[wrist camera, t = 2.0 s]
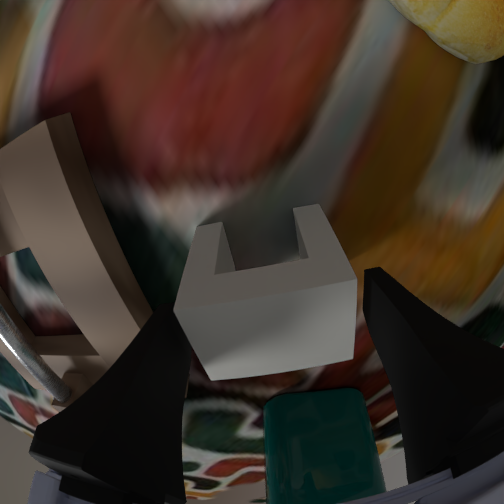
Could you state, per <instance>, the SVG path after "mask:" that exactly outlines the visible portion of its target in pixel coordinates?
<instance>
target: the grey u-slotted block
mask: <svg viewBox="0 0 504 504" xmlns="http://www.w3.org/2000/svg"><path fill="white" fill-rule="evenodd" d="M293 214H294V221H295V227H296V234H297V241H298V248H299V255H300V260H296V261H290V262H285V263H279V264H273V265H268V266H262V267H257V268H251V269H245V270H240V271H236V268H235V265H234V261H233V258H232V254H231V251H230V247H229V244H228V240H227V237H226V233H225V230H224V226H223V223H222V222H217V223H212V224H207V225H202V226H197V228H196V231H195V234H194V238H193V241H192V244H191V248H190V251H189V255H188V258H187V262H186V265H185V269H184V272H183V276H182V279H181V283H180V287H179V290H178V294H177V298H176V302H175V305H174V309H173V311H174V313H175V315H176V317H177V319H178V321H179V323H180V325H181V326H182V328H183V330H184V332H185V334H186V336H187V338H188V340H189V342H190V344H191V346H192V347H193V349H194V351H195V353H196V355H197V357H198V358H199V360H200V362H201V364H202V366H203V367H204V369H205V371H206V373H207V374H208V376H209V378H210V380H211V381H213V380H224V379H234V378H244V377H252V376H260V375H267V374H274V373H281V372H287V371H294V370H300V369H305V368H311V367H316V366H321V365H326V364H331V363H336V362H341V361H345V360H350V359H353V353H354V340H355V325H356V304H357V277H356V275H355V273H354V271H353V269H352V267H351V265H350V263H349V261H348V259H347V257H346V255H345V253H344V251H343V249H342V247H341V245H340V243H339V241H338V239H337V237H336V235H335V233H334V231H333V229H332V227H331V225H330V223H329V222H328V220H327V218H326V216H325V214H324V212H323V210H322V209H321V207H320V205H319V204H313V205H307V206H302V207H296V208H293Z"/></svg>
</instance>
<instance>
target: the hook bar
mask: <svg viewBox="0 0 504 504" xmlns="http://www.w3.org/2000/svg"><path fill="white" fill-rule="evenodd" d="M0 339H1V340H2V341H3V343H4V344H5V345H6V346H7V348H8V349H9V350H10V351H11V352H12V353H13V355H14V356H15V357H16V358H17V359H18V360H19V362H20V363H21V364H22V365H23V366H24V367H25V368H26V369H27V370H28V371H29V372H30V374H31V375H32V376H33V377H34V378H35V379H36V380H37V381H38V382H39V383H40V384H41V385H42V386H43V387H44V388H45V389H46V390H47V391H48V392H49V393H50V394H51V395H52V396H54V397H55V398H56V399H57V400H58V401H59V402H60V403H65V402H67V401H68V400H69V399H70V398H71V396H72V390H71V388H70V387H69V386H68V385H67V384H66V383H65V382H64V381H63V380H62V379H61V378H60V377H59V376H58V375H57V374H56V373H55V372H54V371H53V370H52V369H51V368H50V366H49V365H48V364H47V363H46V362H45V361H44V360H43V358H42V357H41V356H40V355H39V354H38V353H37V351H36V350H35V349H34V348H33V347H32V345H31V344H30V343H29V342H28V341H27V339H26V338H25V337H24V335H23V334H22V333H21V332H20V330H19V329H18V328H17V326H16V325H15V324H14V322H13V321H12V320H11V318H10V317H9V315H8V314H7V313H6V311H5V310H4V308H3V307H2V305H1V304H0Z"/></svg>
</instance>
